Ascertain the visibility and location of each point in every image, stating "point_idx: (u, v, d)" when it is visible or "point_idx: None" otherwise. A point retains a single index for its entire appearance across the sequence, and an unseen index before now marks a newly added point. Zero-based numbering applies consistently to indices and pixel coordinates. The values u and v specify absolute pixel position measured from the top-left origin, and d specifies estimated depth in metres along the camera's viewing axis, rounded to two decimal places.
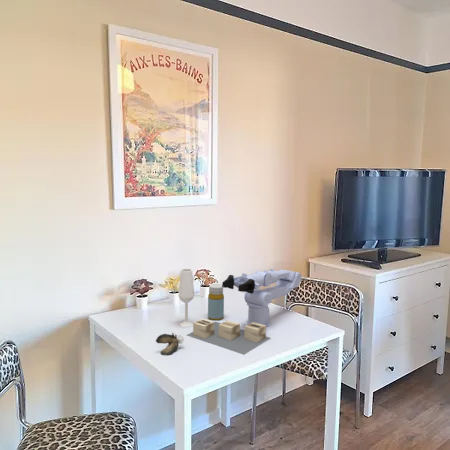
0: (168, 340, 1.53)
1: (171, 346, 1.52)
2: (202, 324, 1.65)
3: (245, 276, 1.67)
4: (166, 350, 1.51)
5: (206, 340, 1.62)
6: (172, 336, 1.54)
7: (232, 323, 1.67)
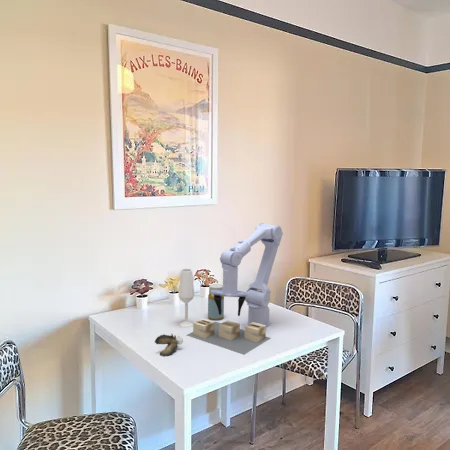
0: (167, 341, 1.52)
1: (170, 347, 1.51)
2: (202, 324, 1.65)
3: (230, 295, 1.61)
4: (165, 351, 1.50)
5: (206, 340, 1.62)
6: (171, 337, 1.53)
7: (232, 323, 1.67)
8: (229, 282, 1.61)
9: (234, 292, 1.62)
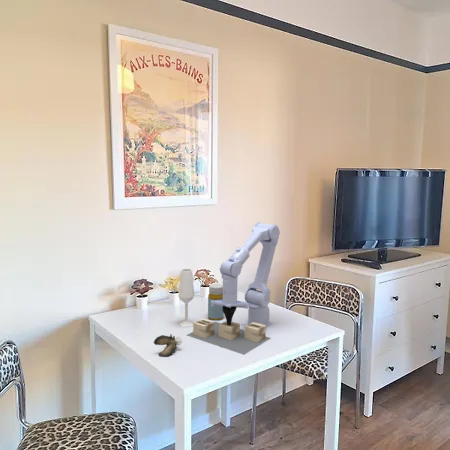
0: (166, 342, 1.52)
1: (169, 348, 1.51)
2: (202, 324, 1.65)
3: (230, 306, 1.62)
4: (164, 352, 1.50)
5: (206, 340, 1.62)
6: (170, 337, 1.53)
7: (232, 323, 1.67)
8: (229, 292, 1.61)
9: (234, 302, 1.63)
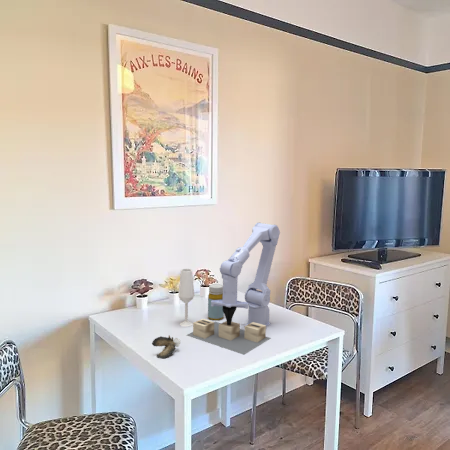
0: (164, 343, 1.51)
1: (167, 349, 1.50)
2: (202, 324, 1.65)
3: (230, 306, 1.62)
4: (162, 353, 1.48)
5: (206, 340, 1.62)
6: (168, 339, 1.51)
7: (232, 323, 1.67)
8: (229, 292, 1.61)
9: (234, 302, 1.63)
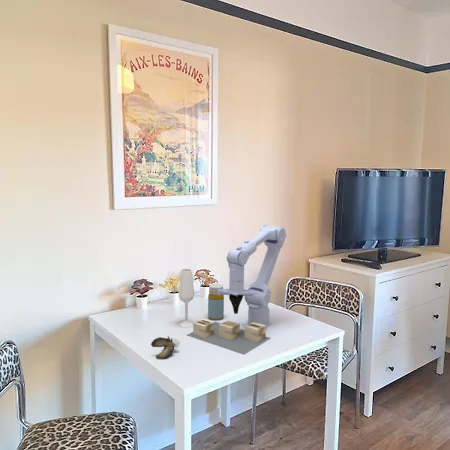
0: (164, 344, 1.50)
1: (167, 350, 1.49)
2: (202, 324, 1.65)
3: (237, 294, 1.63)
4: (161, 354, 1.48)
5: (206, 340, 1.62)
6: (168, 340, 1.51)
7: (232, 323, 1.67)
8: (236, 281, 1.63)
9: (241, 291, 1.64)
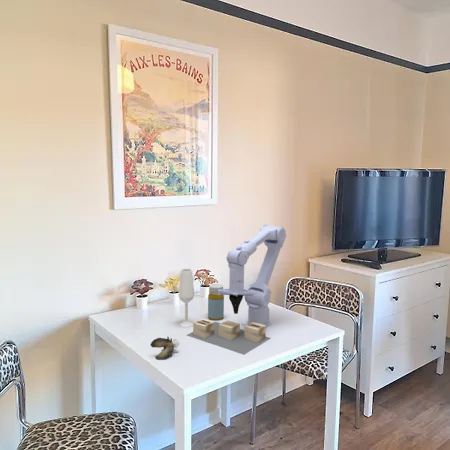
0: (163, 344, 1.50)
1: (166, 350, 1.49)
2: (202, 324, 1.65)
3: (237, 294, 1.63)
4: (161, 354, 1.47)
5: (206, 340, 1.62)
6: (167, 340, 1.50)
7: (232, 323, 1.67)
8: (236, 281, 1.63)
9: (241, 291, 1.64)
